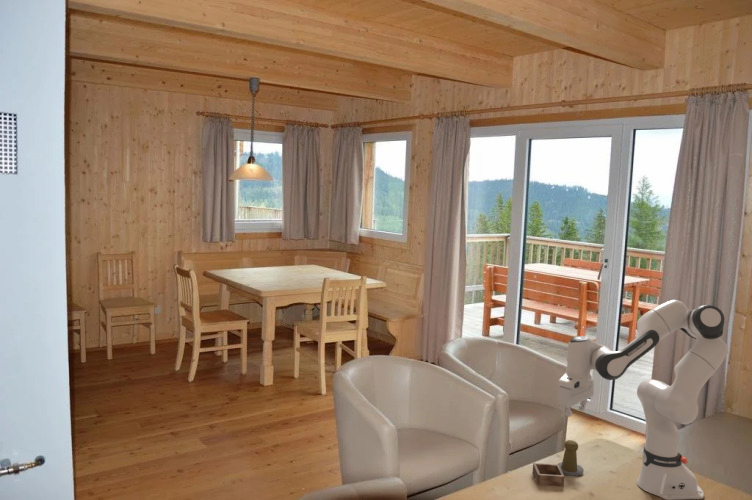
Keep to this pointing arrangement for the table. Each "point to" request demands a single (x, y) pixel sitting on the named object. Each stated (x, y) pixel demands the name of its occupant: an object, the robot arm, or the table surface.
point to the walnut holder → (548, 474)
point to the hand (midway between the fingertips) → (575, 413)
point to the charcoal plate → (577, 473)
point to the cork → (570, 456)
